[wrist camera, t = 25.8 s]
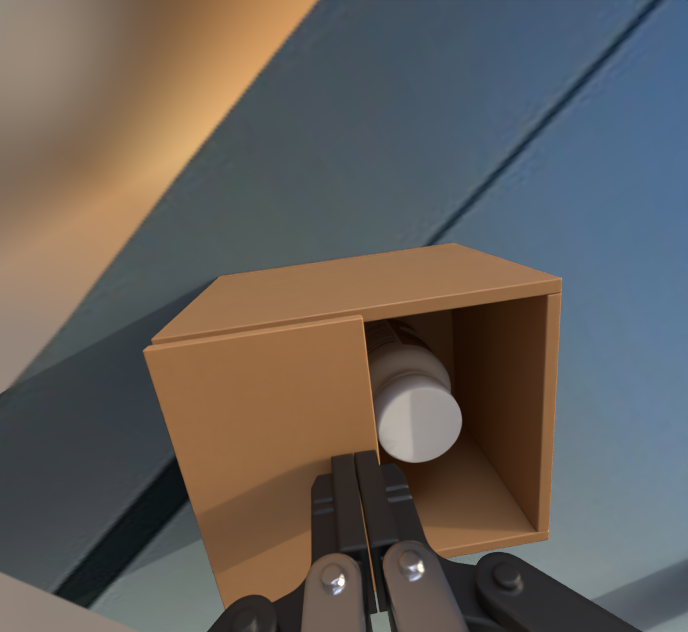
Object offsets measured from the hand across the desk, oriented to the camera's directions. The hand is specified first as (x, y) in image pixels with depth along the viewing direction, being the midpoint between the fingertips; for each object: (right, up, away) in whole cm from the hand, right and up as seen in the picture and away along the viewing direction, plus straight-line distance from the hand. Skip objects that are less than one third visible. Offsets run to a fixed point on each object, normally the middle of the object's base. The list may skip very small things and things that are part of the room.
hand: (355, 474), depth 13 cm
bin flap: (-2, 0, 0) cm, 2 cm away
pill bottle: (+2, +3, +10) cm, 10 cm away
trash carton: (0, +3, +10) cm, 10 cm away
